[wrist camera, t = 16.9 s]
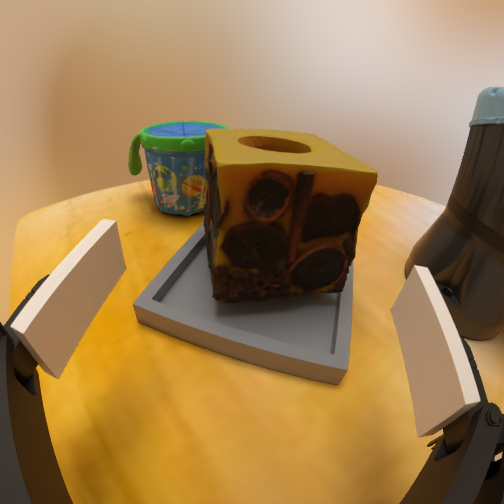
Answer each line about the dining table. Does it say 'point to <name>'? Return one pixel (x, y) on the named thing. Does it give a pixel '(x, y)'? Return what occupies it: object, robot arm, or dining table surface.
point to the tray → (250, 319)
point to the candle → (280, 213)
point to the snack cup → (174, 164)
